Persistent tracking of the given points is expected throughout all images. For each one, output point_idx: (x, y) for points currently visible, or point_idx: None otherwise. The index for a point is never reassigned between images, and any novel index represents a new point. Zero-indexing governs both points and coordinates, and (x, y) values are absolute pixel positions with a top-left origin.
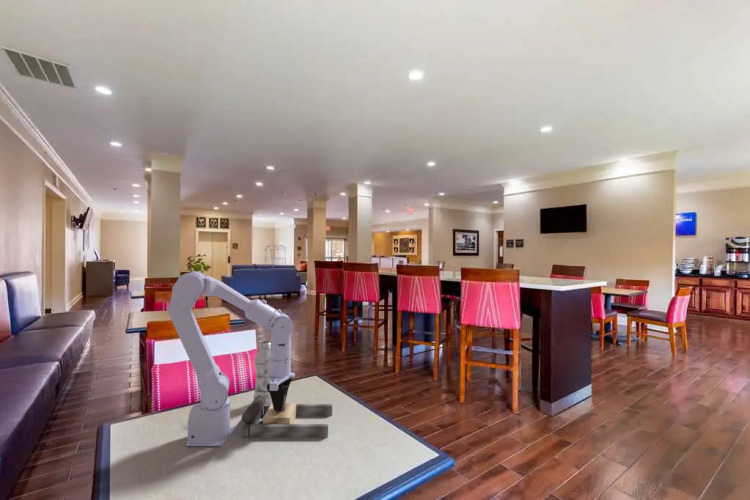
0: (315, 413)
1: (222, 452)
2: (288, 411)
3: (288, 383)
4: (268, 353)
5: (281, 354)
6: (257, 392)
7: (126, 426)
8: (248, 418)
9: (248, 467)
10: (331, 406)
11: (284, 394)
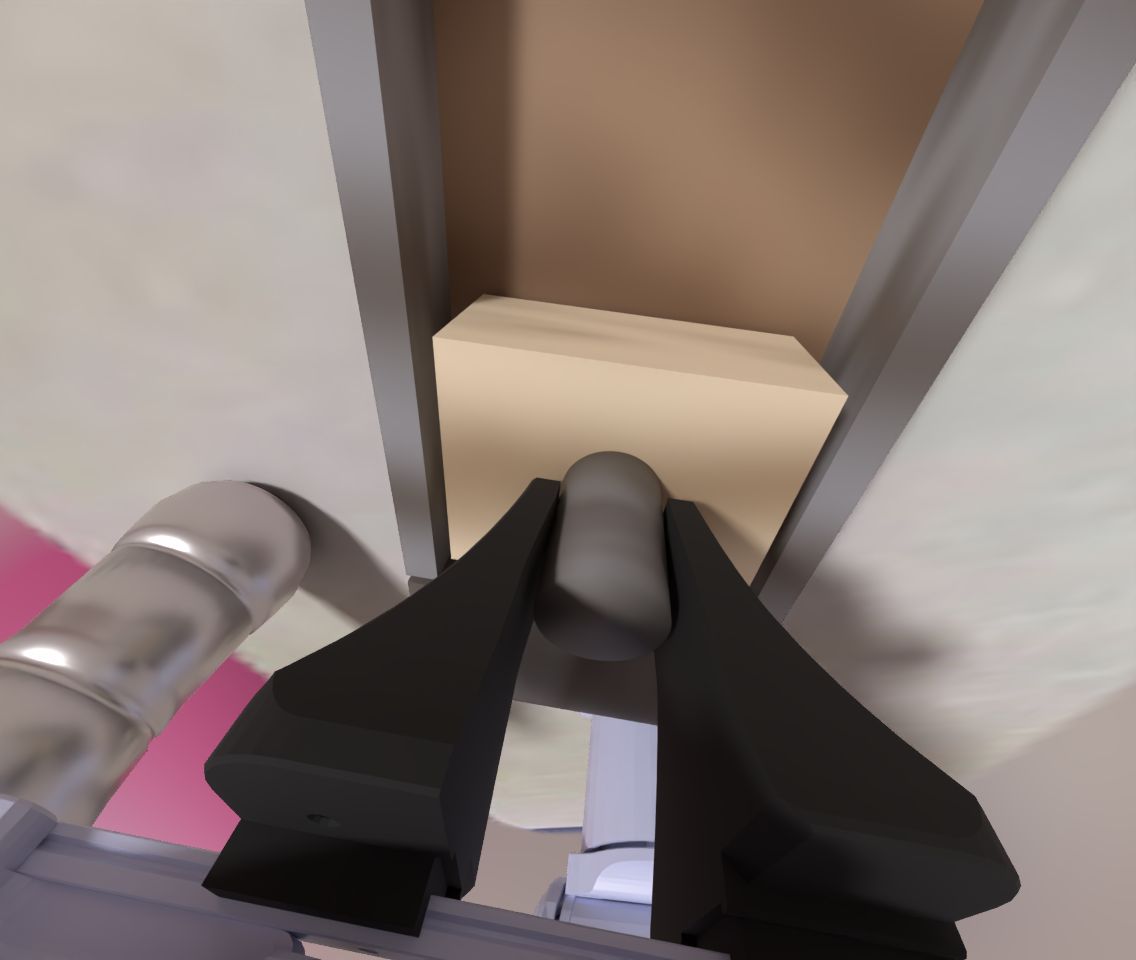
0: (420, 16)
1: (806, 640)
2: (664, 416)
3: (475, 709)
4: None
5: None
6: (252, 628)
7: (524, 814)
8: None
9: (1059, 541)
10: None
11: (826, 672)
